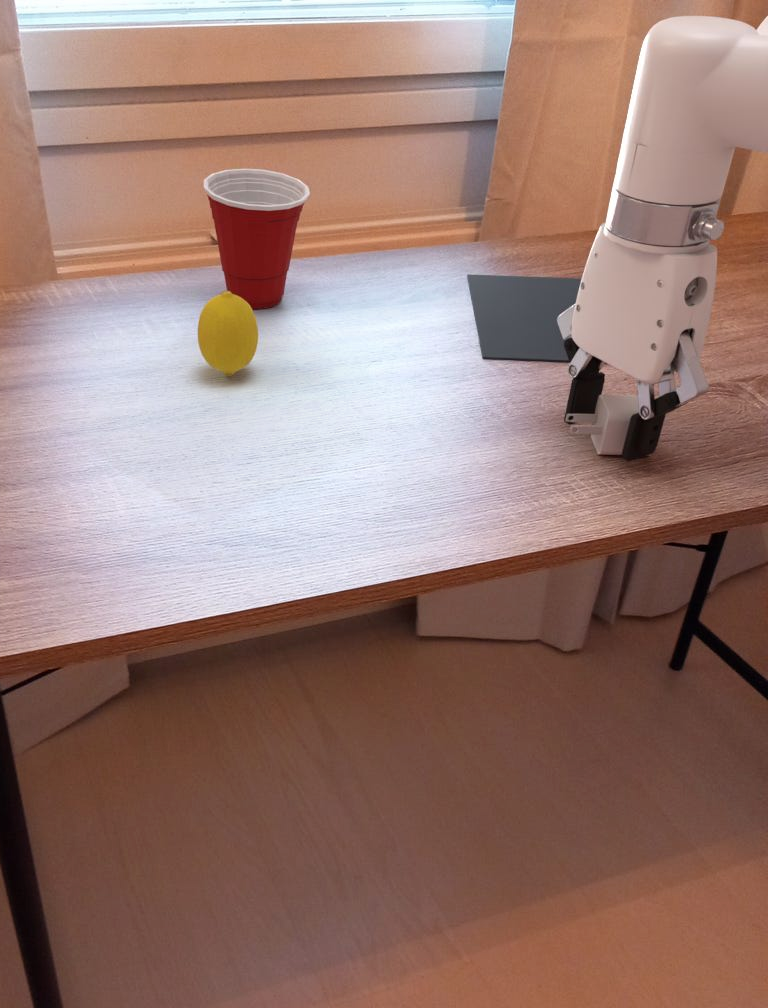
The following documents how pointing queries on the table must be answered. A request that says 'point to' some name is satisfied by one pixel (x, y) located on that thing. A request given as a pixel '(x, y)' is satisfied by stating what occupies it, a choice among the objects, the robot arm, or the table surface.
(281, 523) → the table surface
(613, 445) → the usb wall charger
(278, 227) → the plastic cup
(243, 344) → the lemon
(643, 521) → the table surface
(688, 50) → the robot arm
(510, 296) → the mat
